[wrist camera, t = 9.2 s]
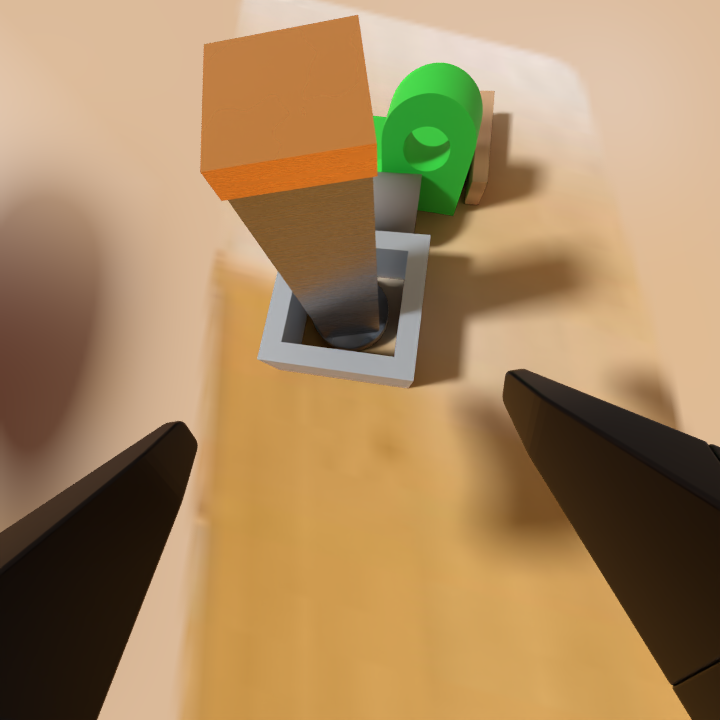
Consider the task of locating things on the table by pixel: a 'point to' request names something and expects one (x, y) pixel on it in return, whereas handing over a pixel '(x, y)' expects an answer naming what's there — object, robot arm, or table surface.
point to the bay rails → (481, 153)
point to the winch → (394, 260)
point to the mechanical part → (432, 133)
